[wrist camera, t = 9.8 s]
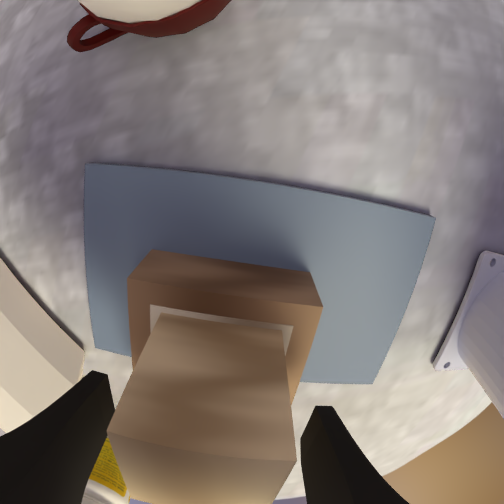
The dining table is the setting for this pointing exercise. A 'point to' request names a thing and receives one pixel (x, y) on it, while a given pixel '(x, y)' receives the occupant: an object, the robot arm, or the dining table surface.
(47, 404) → the crystal
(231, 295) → the walnut base block
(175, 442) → the maple block
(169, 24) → the cocoa
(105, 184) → the board
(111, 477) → the supplement bottle
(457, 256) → the dining table surface
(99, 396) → the robot arm
